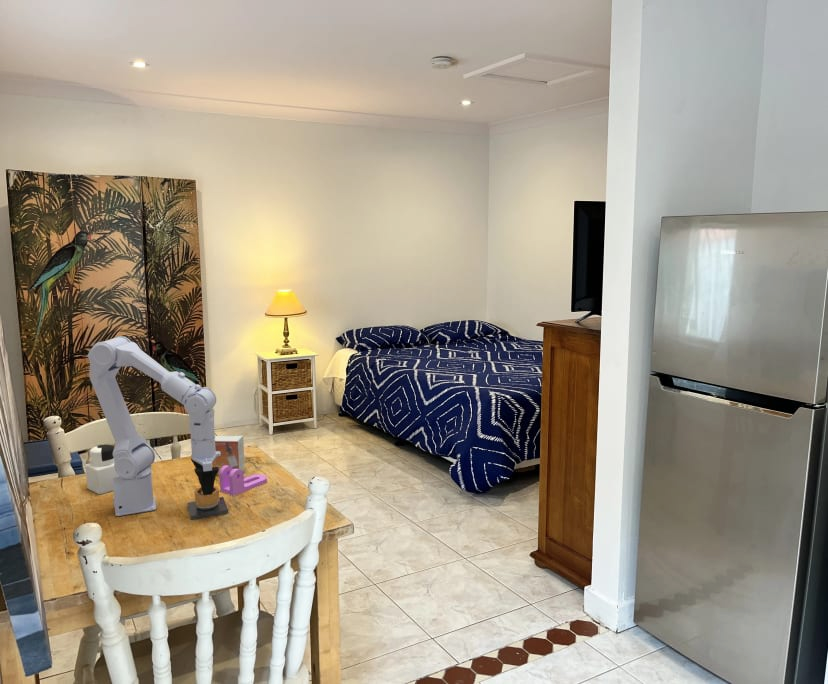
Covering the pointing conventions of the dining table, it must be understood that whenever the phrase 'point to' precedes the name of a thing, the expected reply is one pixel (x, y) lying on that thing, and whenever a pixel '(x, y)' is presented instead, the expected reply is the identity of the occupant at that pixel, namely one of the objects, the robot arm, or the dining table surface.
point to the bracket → (238, 480)
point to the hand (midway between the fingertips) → (206, 489)
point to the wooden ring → (206, 497)
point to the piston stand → (207, 509)
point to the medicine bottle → (101, 469)
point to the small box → (229, 452)
